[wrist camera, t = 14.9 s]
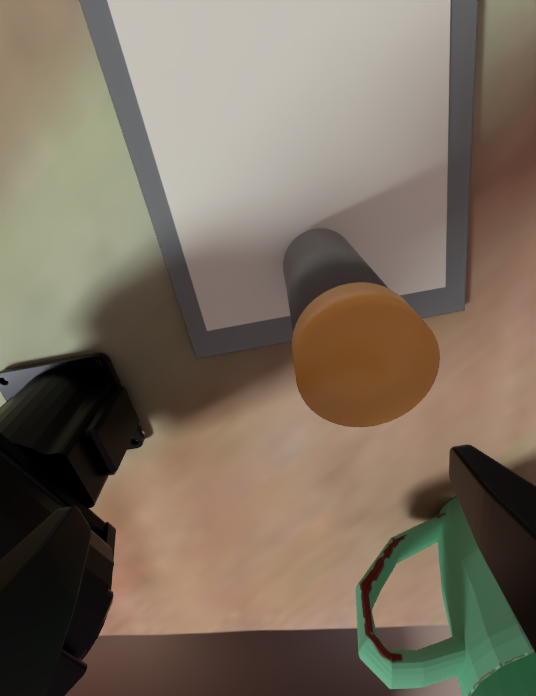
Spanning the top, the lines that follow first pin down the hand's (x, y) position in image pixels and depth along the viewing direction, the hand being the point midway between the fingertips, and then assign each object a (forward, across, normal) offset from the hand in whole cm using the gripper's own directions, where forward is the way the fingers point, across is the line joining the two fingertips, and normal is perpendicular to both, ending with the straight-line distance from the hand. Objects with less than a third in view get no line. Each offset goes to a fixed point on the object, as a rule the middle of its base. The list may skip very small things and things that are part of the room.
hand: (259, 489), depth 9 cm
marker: (+11, -3, -2) cm, 12 cm away
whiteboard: (+12, -3, -7) cm, 14 cm away
